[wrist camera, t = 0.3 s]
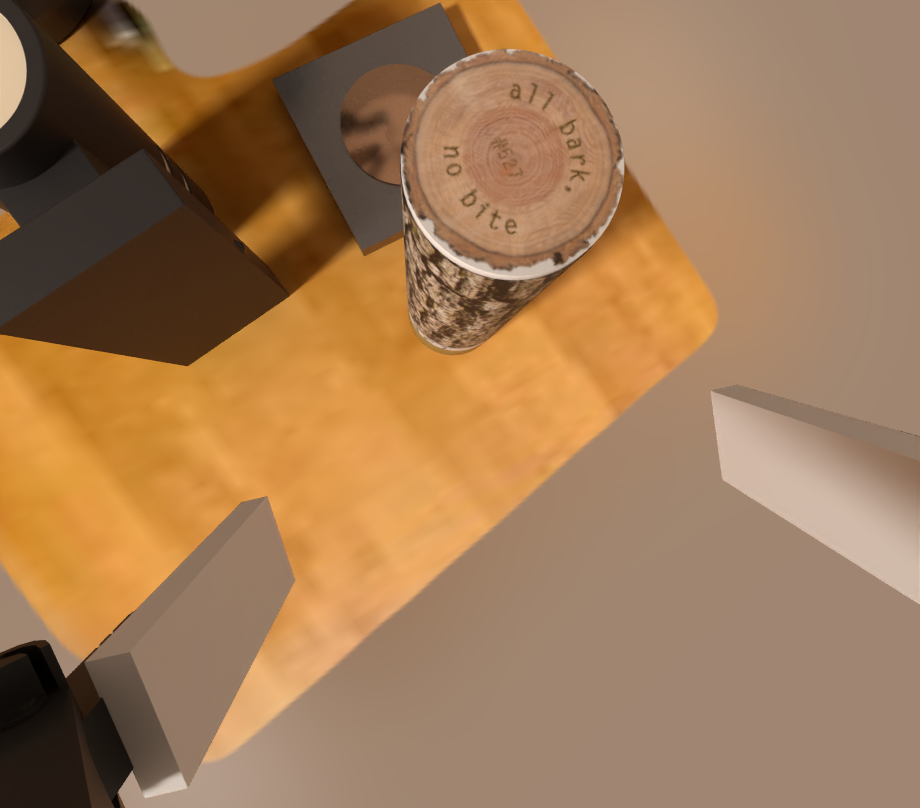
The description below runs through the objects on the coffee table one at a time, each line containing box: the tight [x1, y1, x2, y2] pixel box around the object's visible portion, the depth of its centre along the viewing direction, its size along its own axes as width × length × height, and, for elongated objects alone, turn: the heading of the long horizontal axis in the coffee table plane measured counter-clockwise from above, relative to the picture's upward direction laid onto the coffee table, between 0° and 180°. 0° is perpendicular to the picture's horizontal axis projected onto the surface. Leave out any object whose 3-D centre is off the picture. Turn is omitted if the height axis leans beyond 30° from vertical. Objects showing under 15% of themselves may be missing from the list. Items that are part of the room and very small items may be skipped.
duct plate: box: [272, 3, 468, 256], centre depth 39 cm, size 14×14×2 cm
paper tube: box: [400, 49, 624, 355], centre depth 28 cm, size 7×7×25 cm
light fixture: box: [0, 0, 289, 366], centre depth 29 cm, size 10×14×18 cm
